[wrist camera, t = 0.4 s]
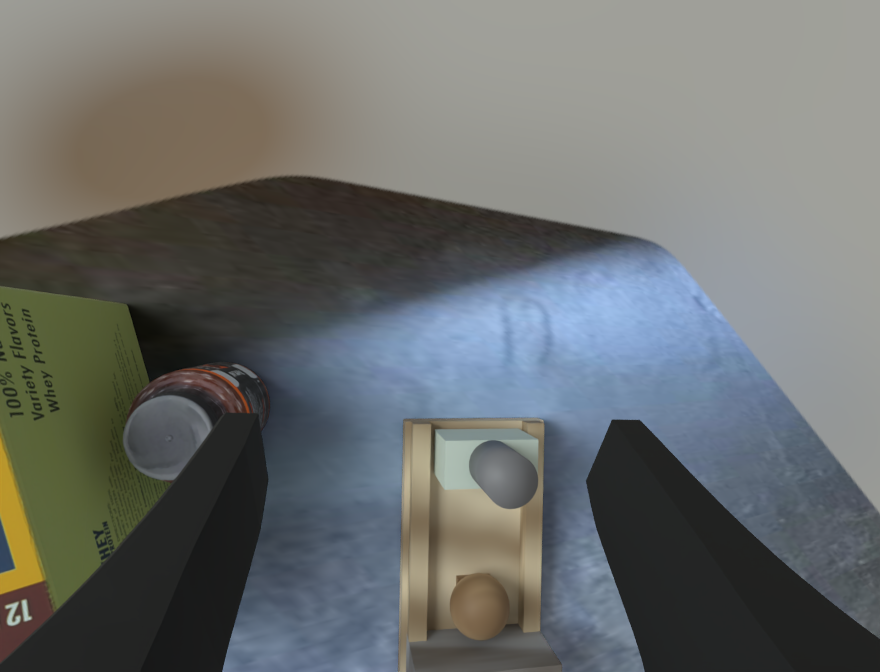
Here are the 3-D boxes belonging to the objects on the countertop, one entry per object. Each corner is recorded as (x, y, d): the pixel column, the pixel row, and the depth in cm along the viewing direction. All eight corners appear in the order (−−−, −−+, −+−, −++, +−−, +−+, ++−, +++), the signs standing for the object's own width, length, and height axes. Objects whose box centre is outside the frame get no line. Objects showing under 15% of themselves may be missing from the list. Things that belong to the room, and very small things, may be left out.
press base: (532, 660, 39) (567, 720, 33) (398, 672, 37) (408, 738, 31) (537, 417, 39) (572, 433, 33) (403, 418, 37) (414, 435, 31)
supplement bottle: (240, 343, 36) (193, 348, 24) (288, 418, 36) (263, 455, 25) (158, 391, 35) (71, 418, 23) (209, 466, 35) (147, 528, 24)
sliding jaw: (517, 470, 37) (563, 507, 30) (433, 472, 36) (458, 511, 28) (518, 428, 37) (564, 453, 30) (434, 429, 36) (459, 455, 28)
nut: (499, 617, 38) (517, 650, 34) (443, 622, 37) (455, 656, 33) (500, 561, 38) (518, 588, 34) (445, 564, 37) (457, 592, 33)
